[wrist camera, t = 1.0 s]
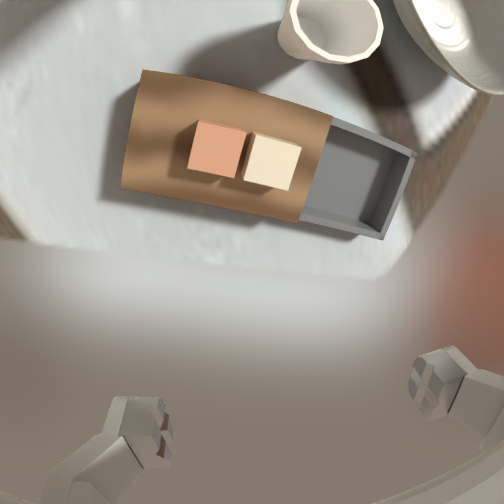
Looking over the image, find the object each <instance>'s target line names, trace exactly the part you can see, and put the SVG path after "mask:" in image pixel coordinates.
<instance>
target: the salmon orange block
mask: <svg viewBox="0 0 504 504" xmlns="http://www.w3.org/2000/svg"><path fill="white" fill-rule="evenodd" d="M246 133H247V132H246V131H245V130H244V129H240V128H235V127H231V126H227V125H222V124H218V123H213V122H209V121H204V120H199V121H198V124H197V128H196V133H195V137H194V141H193V145H192V149H191V154H190V158H189V163H188V167H187V168H188V169H193V170H198V171H203V172H207V173H212V174H217V175H222V176H226V177H231V178H234V177H235V173H236V170H237V166H238V162H239V159H240V155H241V151H242V148H243V144H244V140H245V137H246Z"/></svg>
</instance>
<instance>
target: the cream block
mask: <svg viewBox="0 0 504 504" xmlns="http://www.w3.org/2000/svg"><path fill="white" fill-rule="evenodd" d="M301 148H302V147H300V146H298V145H297V144H295V143H292V142H289V141H285V140H282V139H278V138H275V137H271V136H267V135H263V134H260V133H256V132H252V135H251V138H250V142H249V146H248V149H247V153H246V156H245V160H244V163H243V167H242V171H241V175H242V178H243V180H245V181H249V182H253V183H258V184H262V185H266V186H270V187H274V188H278V189H283V190H287V191H288V189H289V186H290V183H291V180H292V177H293V173H294V170H295V167H296V164H297V161H298V158H299V155H300V152H301Z"/></svg>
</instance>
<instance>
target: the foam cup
mask: <svg viewBox="0 0 504 504" xmlns="http://www.w3.org/2000/svg"><path fill="white" fill-rule="evenodd" d="M383 28H384V27H383V22H382V18H381V14H380V11H379V8H378V7H377V5H376V4H375V2H374V1H373V0H288V2H287V5H286V9H285V13H284V16H283V19H282V21H281V24H280V27H279V31H278V34H277V37H278V41H279V45H280V47H281V48H282V49H283V50H284V51H285V53H286V54H288V55H290V56H292V57H294V58H296V59H305V60H318V61H320V62H325V63H333V64H340V65H341V64H347V63H351V62H355V61H358V60H361V59H364V58H368V57H369V56H370V55H371V54H372V52H373V51H374V50H375V49H376V48H377V47H378V46H379V45H380V41H381V37H382V33H383Z"/></svg>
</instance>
